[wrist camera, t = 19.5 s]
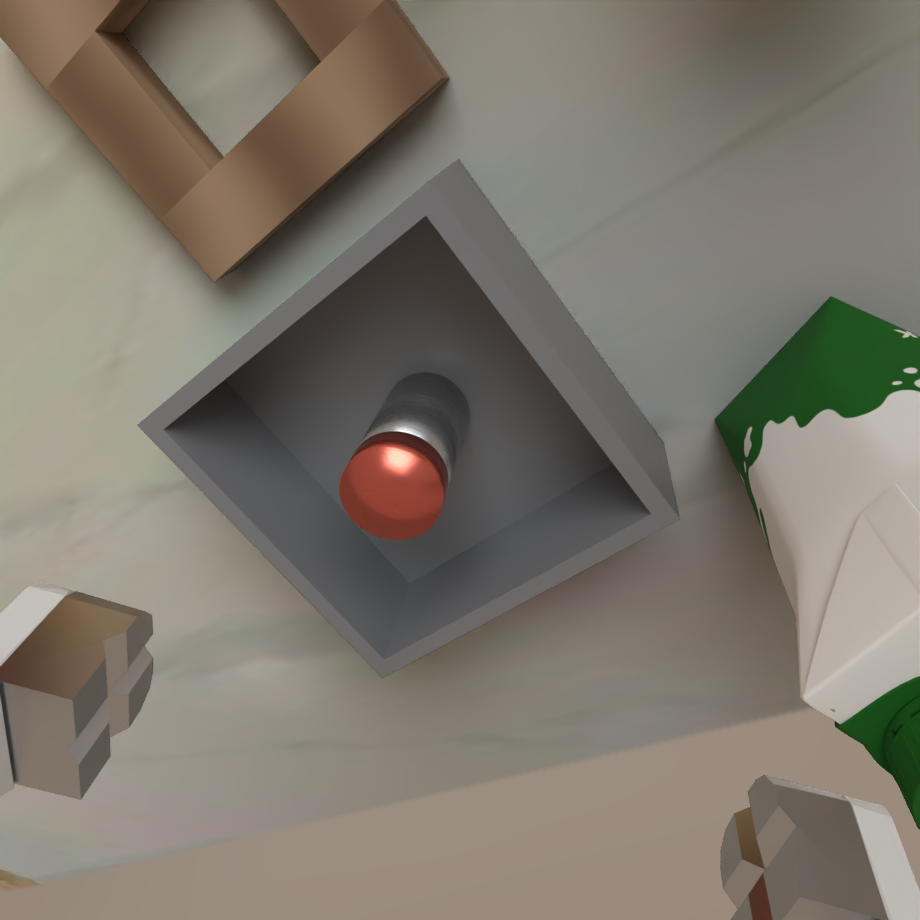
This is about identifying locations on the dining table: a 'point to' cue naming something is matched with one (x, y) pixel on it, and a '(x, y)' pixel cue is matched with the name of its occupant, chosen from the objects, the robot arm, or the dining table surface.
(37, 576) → the dining table surface
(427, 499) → the red and grey cylinder
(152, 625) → the robot arm
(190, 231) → the socket block
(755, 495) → the milk carton
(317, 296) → the bin
